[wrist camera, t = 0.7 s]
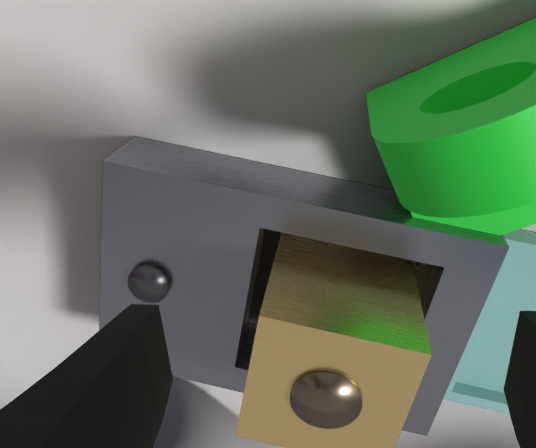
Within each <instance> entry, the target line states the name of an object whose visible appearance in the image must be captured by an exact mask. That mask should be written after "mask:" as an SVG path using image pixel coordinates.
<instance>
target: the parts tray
mask: <svg viewBox="0 0 536 448" xmlns="http://www.w3.org/2000/svg"><path fill="white" fill-rule="evenodd" d="M503 237H504V238H505V240H506V242H507V244H508V245H509V250H508V252H507V254H506V257H505V259H504V261H503V263H502V266H501V268H500V270H499V272H498V275H497V277H496V279H495V282H494V284H493V286H492V288H491V291H490V293H489V295H488V298H487V300H486V302H485V304H484V307H483V309H482V311H481V313H480V316H479V318H478V320H477V323H476V325H475V327H474V329H473V332H472V334H471V336H470V339H469V341H468V343H467V345H466V348H465V350H464V352H463V355H462V357H461V359H460V361H459V364H458V366H457V368H456V370H455V373H454V375H453V377H452V380H451V382H450V384H449V386H448V389H447V391H446V393H445V396H444V398H443V399H445V400H450V401H454V402H458V403H463V404H467V405H471V406H476V407H480V408H484V409H489V410H493V411H497V412H502V413H506V414H510V412H509V408H508V405H507V401H506V397H505V393H504V385H505V380H506V375H507V370H508V365H509V361H510V356H511V351H512V346H513V341H514V336H515V332H516V327H517V322H518V317H519V312H520V311H536V233H535V232H531V231H526V230H521V229H518V230H515V231H512V232H509V233H506V234H503Z"/></svg>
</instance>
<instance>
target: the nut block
mask: <svg viewBox="0 0 536 448" xmlns="http://www.w3.org/2000/svg"><path fill="white" fill-rule="evenodd" d="M431 356H432V353H431V348H430V344H429V339H428V334H427V329H426V324H425V320H424V315H423V310H422V305H421V301H420V296H419V291H418V286H417V282H416V277H415V272H414V267H413V262H412V260H407V259H403V258H398V257H393V256H389V255H384V254H379V253H375V252H370V251H366V250H361V249H356V248H352V247H347V246H342V245H338V244H333V243H329V242H324V241H319V240H315V239H310V238H305V237H301V236H296V235H292V234H287V233H281V237H280V240H279V244H278V248H277V251H276V255H275V259H274V262H273V266H272V270H271V273H270V277H269V281H268V284H267V288H266V292H265V295H264V299H263V303H262V307H261V310H260V314H259V318H258V323H257V328H256V334H255V339H254V344H253V349H252V354H251V359H250V364H249V370H248V375H247V380H246V385H245V390H244V395H243V400H242V406H241V411H240V416H239V421H238V426H237V432H236V436H238V437H242V438H247V439H251V440H255V441H259V442H263V443H267V444H271V445H275V446H280V447H284V448H395V445H396V443H397V440H398V438H399V435H400V433H401V430H402V428H403V425H404V423H405V420H406V418H407V416H408V413H409V411H410V408H411V406H412V403H413V401H414V398H415V396H416V393H417V391H418V388H419V386H420V383H421V381H422V378H423V376H424V373H425V371H426V368H427V366H428V363H429V361H430V359H431Z"/></svg>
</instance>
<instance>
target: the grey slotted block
mask: <svg viewBox="0 0 536 448" xmlns="http://www.w3.org/2000/svg"><path fill="white" fill-rule="evenodd" d="M265 229H268V230H273V231H278V232H282V233H287V234H292V235H296V236H301V237H305V238H310V239H315V240H319V241H324V242H329V243H333V244H338V245H342V246H347V247H352V248H356V249H361V250H366V251H370V252H375V253H379V254H384V255H389V256H393V257H398V258H403V259H407V260H412V261H416V262H421V263H420V265H419V268H418V271H417V274H416V282H417V286H418V291H419V296H420V301H421V305H422V310H423V315H424V320H425V324H426V329H427V334H428V339H429V344H430V348H431V353H432V356H431V359H430V361H429V363H428V366H427V368H426V371H425V373H424V376H423V378H422V381H421V383H420V386H419V388H418V391H417V393H416V396H415V398H414V401H413V403H412V406H411V408H410V411H409V413H408V416H407V418H406V420H405V423H404V425H403V428H402V430H404V431H409V432H413V433H417V434H421V435H426V436H427V434H428V432H429V430H430V427H431V425H432V423H433V421H434V418H435V416H436V414H437V412H438V409H439V407H440V405H441V402H442V400H443V398H444V396H445V393H446V391H447V389H448V386H449V384H450V382H451V380H452V377H453V375H454V373H455V370H456V368H457V366H458V364H459V361H460V359H461V357H462V355H463V352H464V350H465V348H466V345H467V343H468V341H469V339H470V336H471V334H472V332H473V329H474V327H475V325H476V323H477V320H478V318H479V316H480V313H481V311H482V309H483V307H484V304H485V302H486V300H487V298H488V295H489V293H490V291H491V288H492V286H493V284H494V282H495V279H496V277H497V275H498V272H499V270H500V268H501V266H502V263H503V261H504V259H505V257H506V254H507V252H508V250H509V245H508V244H507V242H506V240H505V238H504V237H503V235H496V234H491V233H486V232H481V231H477V230H472V229H467V228H462V227H457V226H453V225H448V224H443V223H438V222H434V221H429V220H424V219H419V218H415V217H412V214H411V212H410V211H409V210H407V209H406V208H404V207H403V206H402V205H401V203H400V202H399V200H398V197H397V195H396V192H395V190H390V189H385V188H380V187H375V186H371V185H366V184H361V183H356V182H351V181H347V180H342V179H337V178H332V177H328V176H323V175H318V174H313V173H308V172H304V171H299V170H294V169H289V168H284V167H280V166H275V165H270V164H265V163H260V162H256V161H251V160H246V159H241V158H237V157H232V156H227V155H222V154H217V153H213V152H208V151H203V150H198V149H193V148H189V147H184V146H179V145H174V144H170V143H165V142H160V141H155V140H150V139H146V138H141V137H136V136H135V137H134V138H132V139H131V140H130V141H128V142H127V143H126V144H124V145H123V146H122V147H120V148H119V149H118V150H116V151H115V152H114V153H112V154H111V155H110V156H108V157H107V158H106V159H104V160H103V163H102V216H101V269H100V323H99V331H100V330H101V329H102V328H103V327H104V326H105V325H107V324H108V323H109V322H110V321H111V320H112V319H113V318H115V317H116V316H117V315H118V314H119V313H121V312H122V311H123V310H124V309H126V308H127V307H128V306H129V305H131V304H147V305H159V309H160V314H161V319H162V324H163V329H164V335H165V340H166V345H167V350H168V355H169V360H170V366H171V371H172V376H175V377H179V378H183V379H187V380H192V381H196V382H200V383H204V384H209V385H213V386H217V387H221V388H226V389H230V390H234V391H238V392H243V393H244V390H245V385H246V380H247V375H248V370H249V364H250V359H251V354H252V349H253V344H254V339H255V334H256V328H257V325H256V324H251V323H248V319H249V314H250V308H251V303H252V298H253V292H254V287H255V281H256V276H257V270H258V265H259V260H260V254H261V249H262V243H263V238H264V232H265Z"/></svg>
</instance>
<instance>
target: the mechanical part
mask: <svg viewBox="0 0 536 448" xmlns="http://www.w3.org/2000/svg"><path fill="white" fill-rule="evenodd" d="M366 100H367V107H368V114H369V121H370V128H371V134H372V137H373V139H374V141H375V144H376V146H377V149H378V151H379V154H380V156H381V158H382V161H383V163H384V166H385V168H386V171H387V173H388V175H389V178H390V180H391V183H392V185H393V188H394V190H395V192H396V195H397V197H398V200H399V202H400V203H401V205H402V206H403V207H404V208H406V209H407V210H409V211H410V212H411V214H412V217H415V218H419V219H424V220H429V221H434V222H438V223H443V224H448V225H453V226H457V227H462V228H467V229H472V230H477V231H481V232H486V233H491V234H496V235H503V234H506V233H509V232H512V231H515V230H518V229H521V228H524V227H527V226H530V225H534V224H536V18H533V19H531V20H529V21H527V22H524V23H522V24H520V25H518V26H515V27H513V28H511V29H509V30H506V31H504V32H502V33H499V34H497V35H495V36H493V37H490V38H488V39H486V40H484V41H481V42H479V43H477V44H475V45H472V46H470V47H468V48H466V49H463V50H461V51H459V52H457V53H454V54H452V55H450V56H448V57H445V58H443V59H441V60H439V61H436V62H434V63H432V64H430V65H427V66H425V67H423V68H420V69H418V70H416V71H414V72H411V73H409V74H407V75H405V76H402V77H400V78H398V79H396V80H393V81H391V82H389V83H387V84H384V85H382V86H380V87H378V88H375V89H373V90H371V91H369V92H366Z"/></svg>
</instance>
